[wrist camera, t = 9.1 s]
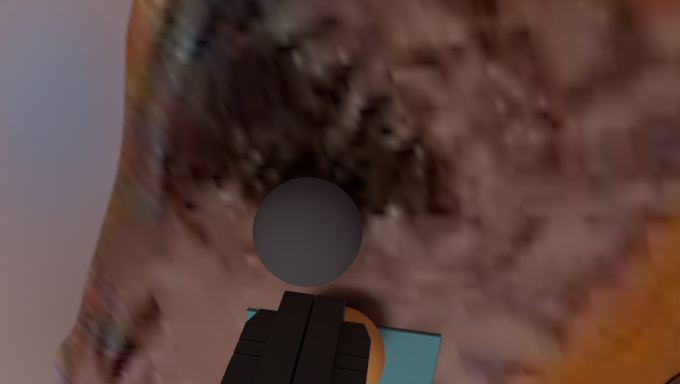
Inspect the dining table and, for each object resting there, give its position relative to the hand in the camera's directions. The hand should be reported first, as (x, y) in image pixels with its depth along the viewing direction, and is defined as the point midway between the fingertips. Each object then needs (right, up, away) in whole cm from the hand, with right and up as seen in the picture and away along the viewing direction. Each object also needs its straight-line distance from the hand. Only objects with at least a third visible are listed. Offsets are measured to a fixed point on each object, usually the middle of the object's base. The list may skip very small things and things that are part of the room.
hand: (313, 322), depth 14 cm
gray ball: (-1, +1, +14) cm, 14 cm away
